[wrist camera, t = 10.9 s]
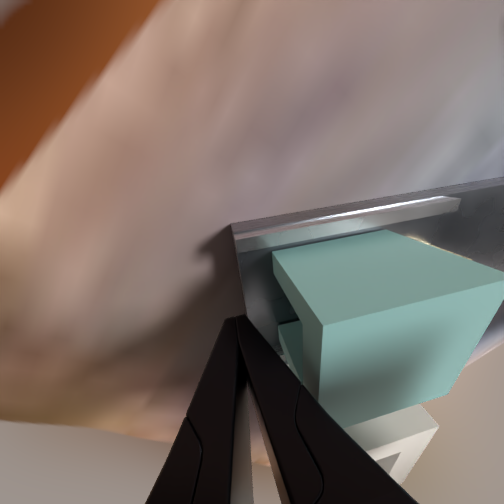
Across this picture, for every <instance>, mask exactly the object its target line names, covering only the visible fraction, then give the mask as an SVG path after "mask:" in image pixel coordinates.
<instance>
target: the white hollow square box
mask: <svg viewBox="0 0 504 504" xmlns="http://www.w3.org/2000/svg"><path fill="white" fill-rule="evenodd" d="M287 366H288V367H289V365H288V364H287ZM289 368H290V367H289ZM438 427H439V425H438V424H437V423H436V422H435V420H433V418H432V417H431V416H430V415H429V414H428V412H427V411H426V410H425V409H424V408H423V407H422V406H421V404H417V405H414V406H410V407H407V408H404V409H401V410H398V411H395V412H392V413H389V414H386V415H383V416H380V417H377V418H374V419H371V420H368V421H365V422H362V423H358V424H355V425H352V426H349V427H346V428H343V429H344V430H345V432H346V433H347V434H348V435H349V436H350V437H351V438H352V439H353V440H355V441H356V442H357V443H358V444H359V445H360V446H361V447H362V448H363V449H364V450H365V451H366V452H367V453H368V454H369V455H370V456H371V457H372V458H373V459H374V460H375V461H376V462H377V463H378V464H379V465H380V466H381V467H382V468H383V469H384V470H385V471H386V472H387V473H388V474H389V475H390V476H391V477H392V478H393V479H394V480H395V481H396V482H397V483H398V484H401V483H403V481H404V480H405V478H406V477H407V475H408V474H409V472H410V471H411V469H412V468H413V466H414V464H415V463H416V461H417V460H418V458H419V457H420V455H421V453H422V452H423V451H424V449H425V448H426V446H427V444H428V443H429V441H430V440H431V438H432V437H433V435H434V434H435V432H436V430H437V429H438Z"/></svg>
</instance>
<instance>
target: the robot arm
mask: <svg viewBox="0 0 504 504" xmlns="http://www.w3.org/2000/svg"><path fill="white" fill-rule="evenodd" d="M247 383H248V387H249V390H250V394H251V397H252V401H253V405H254V408H255V412H256V415H257V419H258V422H259V426H260V429H261V433H262V437H263V440H264V444H265V447H266V451H267V454H268V458H269V461H270V465H271V468H272V472H273V476H274V479H275V483H276V486H277V490H278V493H279V497H280V500H281V504H419V503H418V502H417V501H416V500H414V499H413V498H412V497H411V496H410V495H409V494H408V493H407V492H406V491H405V490H404V489H403V488H402V487H401V486H400V485H399V484H398V483H397V482H396V481H395V480H394V479H393V478H392V477H391V476H390V475H389V474H388V473H387V472H386V471H385V470H384V469H383V468H382V467H381V466H380V465H379V464H378V463H377V462H376V461H375V460H374V459H373V458H372V457H371V456H370V455H369V454H368V453H367V452H366V451H365V450H364V449H363V448H362V447H361V446H360V445H359V444H358V443H357V442H356V441H355V440H353V439H352V438H351V437H350V436H349V435H348V434H347V433H346V432H345V430H344V429H343V428H342V427H341V426H340V425H339V424H338V423H337V422H336V421H335V420H334V419H333V418H332V417H331V416H330V415H329V414H328V413H327V412H326V411H325V409H324V408H323V407H322V406H321V405H320V404H319V403H318V401H317V400H316V399H315V398H314V397H313V396H312V394H311V393H310V392H309V391H308V390H307V388H306V387H305V386H304V385H303V384H301V381H300V380H299V379H298V378H297V376H296V375H295V374H294V373H293V372H292V370H291V369H290V368H289V367H288V366H287V364H286V363H285V362H284V361H283V360H282V358H281V357H280V356H279V355H278V353H277V352H276V351H275V350H274V349H273V347H272V346H271V345H270V344H269V343H268V341H267V340H266V339H265V338H264V337H263V335H262V334H261V333H260V332H259V330H258V329H257V328H256V327H255V326H254V324H253V323H252V322H251V321H250V320H249V318H248V317H247V316H246V315H245V314H243V315H239V316H236V317H230V318H226V319H225V321H224V324H223V326H222V328H221V331H220V333H219V336H218V338H217V340H216V343H215V345H214V348H213V350H212V352H211V355H210V357H209V360H208V362H207V365H206V367H205V369H204V372H203V374H202V377H201V379H200V381H199V384H198V386H197V389H196V391H195V394H194V396H193V398H192V401H191V403H190V406H189V408H188V410H187V413H186V416H187V417H185V418H184V420H183V422H182V425H181V427H180V429H179V432H178V434H177V437H176V439H175V441H174V443H173V446H172V448H171V450H170V453H169V455H168V457H167V459H166V462H165V464H164V466H163V468H162V470H161V472H160V474H159V476H158V478H157V480H156V482H155V484H154V486H153V489H152V491H151V492H150V495H149V497H148V499H147V501H146V502H145V504H254V501H253V484H252V465H251V447H250V429H249V411H248V393H247Z"/></svg>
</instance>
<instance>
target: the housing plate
mask: <svg viewBox="0 0 504 504" xmlns="http://www.w3.org/2000/svg"><path fill="white" fill-rule="evenodd" d="M231 229H232V235H233V241H234V246H235V252H236V258H237V263H238V269H239V275H240V280H241V286H242V292H243V297H244V303H245V308H246V314H247V317H248V318H249V320H250V321H251V322H252V323H253V324H254V326H255V327H256V328H257V329H258V330H259V332H260V333H261V334H262V335H263V337H264V338H265V339H266V340H267V341H268V343H269V344H270V345H271V346H272V347H273V349H274V350H275V351H276V352H277V353H278V355H279V356H280V357H281V358H282V360H283V361H284V362H285V363H286V364H288V362H287V360H286V357H285V354H284V352H283V349H282V346H281V344H280V341H279V333H278V326H279V325H283V324H287V323H291V322H295V321H299V320H300V319H299V317H298V315H297V314H296V312H295V310H294V308H293V307H292V305H291V303H290V301H289V300H288V298H287V296H286V294H285V293H284V291H283V289H282V287H281V286H280V284H279V282H278V280H277V279H276V277H275V275H274V273H273V261H272V252H273V251H278V250H283V249H288V248H293V247H298V246H303V245H309V244H314V243H319V242H324V241H329V240H334V239H339V238H344V237H349V236H355V235H360V234H365V233H370V232H375V231H380V230H385V229H386V230H389V231H392V232H394V233H397V234H400V235H403V236H406V237H408V238H411V239H414V240H417V241H419V242H422V243H425V244H428V245H430V246H433V247H436V248H439V249H441V250H444V251H447V252H450V253H452V254H455V255H458V256H461V257H463V258H466V259H469V260H472V261H474V262H477V263H480V264H483V265H485V266H488V267H491V268H494V269H497V270H499V271H502V272H504V177H500V178H494V179H488V180H482V181H476V182H471V183H465V184H459V185H453V186H447V187H441V188H436V189H430V190H424V191H418V192H412V193H407V194H401V195H395V196H389V197H383V198H378V199H372V200H366V201H360V202H354V203H349V204H343V205H337V206H331V207H325V208H320V209H314V210H308V211H302V212H296V213H291V214H285V215H279V216H273V217H267V218H261V219H256V220H250V221H244V222H238V223H232V224H231Z"/></svg>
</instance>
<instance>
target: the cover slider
mask: <svg viewBox="0 0 504 504" xmlns="http://www.w3.org/2000/svg"><path fill="white" fill-rule="evenodd" d="M272 261H273V273H274V275H275V277H276V279H277V280H278V282H279V284H280V286H281V287H282V289H283V291H284V293H285V294H286V296H287V298H288V300H289V301H290V303H291V305H292V307H293V308H294V310H295V312H296V314H297V315H298V317H299V319H300V320H299V321H295V322H291V323H287V324H283V325H279V326H278V333H279V341H280V344H281V346H282V349H283V352H284V354H285V357H286V360H287V362H288V365H289V367H290V369H291V370H292V372H293V373H294V374H295V375H296V376H297V378H298V379H299V380H300V381H301V384H303V385H304V386H305V387H306V388H307V390H308V391H309V392H310V393H311V394H312V396H313V397H314V398H315V399H316V400H317V401H318V403H319V404H320V405H321V406H322V407H323V408H324V409H325V411H326V412H327V413H328V414H329V415H330V416H331V417H332V418H333V419H334V420H335V421H336V422H337V423H338V424H339V425H340V426H341V427H342V428H346V427H349V426H352V425H355V424H358V423H362V422H365V421H368V420H371V419H374V418H377V417H380V416H383V415H386V414H389V413H392V412H395V411H398V410H401V409H404V408H407V407H410V406H414V405H417V404H420V403H423V402H426V401H429V400H432V399H435V398H438V397H441V396H444V395H447V394H448V393H449V391H450V389H451V388H452V386H453V384H454V383H455V381H456V379H457V378H458V376H459V374H460V372H461V371H462V369H463V367H464V366H465V364H466V362H467V361H468V359H469V357H470V356H471V354H472V352H473V351H474V349H475V347H476V345H477V344H478V342H479V340H480V339H481V337H482V335H483V334H484V332H485V330H486V329H487V327H488V325H489V324H490V322H491V320H492V318H493V317H494V315H495V313H496V312H497V310H498V308H499V307H500V305H501V303H502V302H503V300H504V272H502V271H499V270H497V269H494V268H491V267H488V266H485V265H483V264H480V263H477V262H474V261H472V260H469V259H466V258H463V257H461V256H458V255H455V254H452V253H450V252H447V251H444V250H441V249H439V248H436V247H433V246H430V245H428V244H425V243H422V242H419V241H417V240H414V239H411V238H408V237H406V236H403V235H400V234H397V233H394V232H392V231H389V230H386V229H385V230H380V231H375V232H370V233H365V234H360V235H355V236H349V237H344V238H339V239H334V240H329V241H324V242H319V243H314V244H309V245H303V246H298V247H293V248H288V249H283V250H278V251H273V252H272Z"/></svg>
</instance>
